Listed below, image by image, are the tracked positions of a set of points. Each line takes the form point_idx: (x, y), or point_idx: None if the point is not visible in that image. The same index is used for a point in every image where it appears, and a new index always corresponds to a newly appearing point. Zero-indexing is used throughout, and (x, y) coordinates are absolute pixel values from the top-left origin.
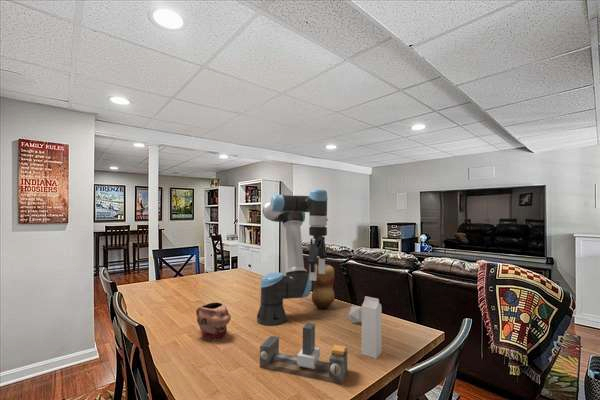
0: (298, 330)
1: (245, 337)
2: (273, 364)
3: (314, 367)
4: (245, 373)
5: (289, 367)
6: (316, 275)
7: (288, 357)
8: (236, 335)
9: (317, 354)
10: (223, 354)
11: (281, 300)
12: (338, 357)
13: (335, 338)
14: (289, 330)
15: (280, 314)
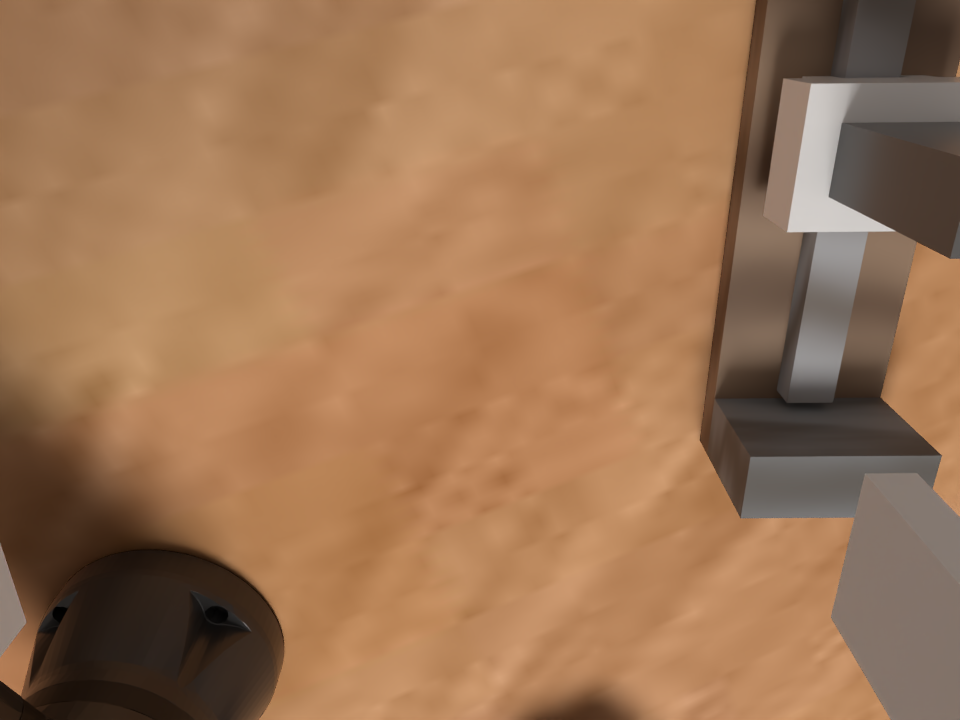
0: (243, 407)
1: (513, 661)
2: (873, 371)
3: (931, 76)
4: None
5: (894, 262)
6: (949, 561)
7: (832, 306)
8: (506, 712)
9: (880, 81)
10: (755, 662)
11: (84, 714)
12: None
13: (238, 63)
14: (278, 466)
15: (171, 617)
